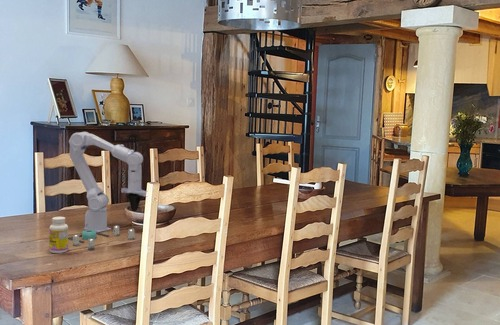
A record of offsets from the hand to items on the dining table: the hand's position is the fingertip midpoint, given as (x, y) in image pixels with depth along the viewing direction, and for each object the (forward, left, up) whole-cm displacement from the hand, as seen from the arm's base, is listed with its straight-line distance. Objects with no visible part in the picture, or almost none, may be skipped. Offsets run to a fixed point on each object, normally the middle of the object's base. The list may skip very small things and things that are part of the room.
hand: (134, 210), depth 235 cm
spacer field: (+4, -20, -9) cm, 22 cm away
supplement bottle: (+1, -40, -10) cm, 41 cm away
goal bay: (-6, -20, -9) cm, 23 cm away
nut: (-6, -20, -10) cm, 23 cm away
